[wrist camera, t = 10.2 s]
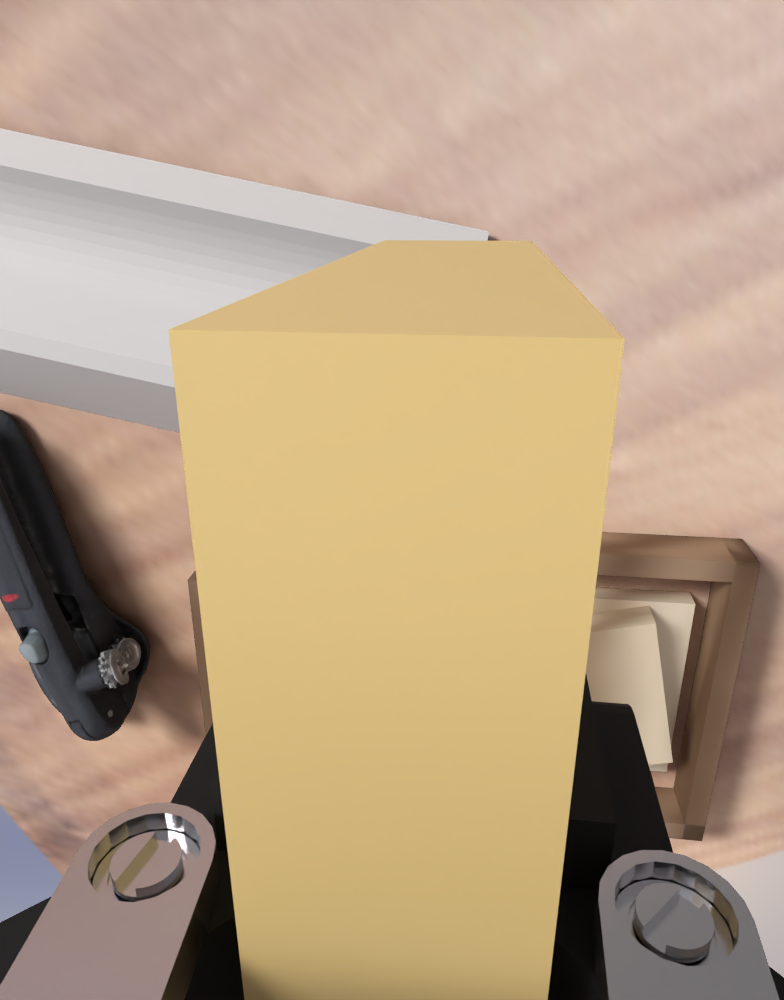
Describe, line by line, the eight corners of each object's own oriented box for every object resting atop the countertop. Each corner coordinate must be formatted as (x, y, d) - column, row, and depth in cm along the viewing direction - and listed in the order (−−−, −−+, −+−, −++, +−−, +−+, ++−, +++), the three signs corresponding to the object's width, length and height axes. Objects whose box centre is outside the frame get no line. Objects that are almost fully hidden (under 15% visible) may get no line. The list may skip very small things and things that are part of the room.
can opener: (184, 686, 42) (141, 755, 37) (76, 703, 43) (20, 771, 38) (59, 385, 36) (-13, 417, 31) (-62, 415, 37) (-150, 450, 32)
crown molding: (488, 234, 32) (489, 238, 28) (430, 489, 36) (424, 518, 33) (-208, 87, 33) (-287, 75, 29) (-178, 354, 37) (-243, 369, 34)
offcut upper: (648, 605, 35) (655, 623, 34) (665, 740, 38) (672, 762, 36) (522, 622, 36) (523, 640, 35) (547, 752, 39) (549, 774, 38)
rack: (742, 539, 35) (800, 616, 28) (689, 804, 41) (727, 918, 34) (239, 514, 37) (187, 580, 31) (260, 766, 43) (220, 866, 37)
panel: (532, 241, 12) (624, 339, 4) (494, 810, 17) (498, 1422, 8) (385, 239, 12) (168, 329, 4) (387, 800, 17) (287, 1384, 9)
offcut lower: (686, 585, 37) (695, 604, 35) (659, 748, 40) (666, 771, 39) (521, 577, 37) (523, 594, 36) (510, 736, 41) (511, 759, 40)
